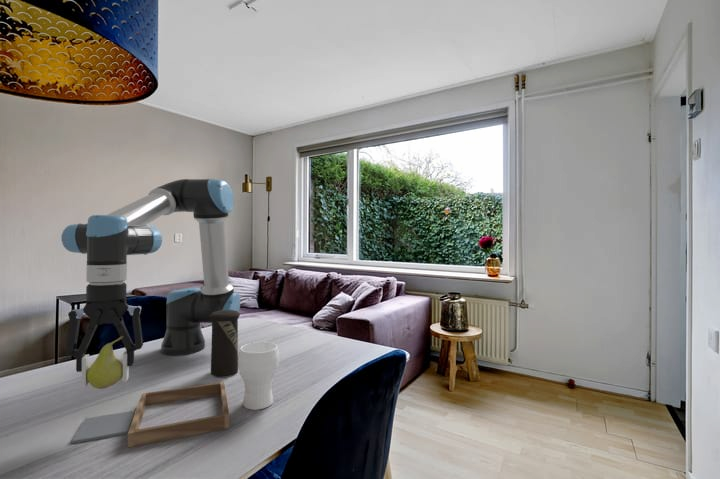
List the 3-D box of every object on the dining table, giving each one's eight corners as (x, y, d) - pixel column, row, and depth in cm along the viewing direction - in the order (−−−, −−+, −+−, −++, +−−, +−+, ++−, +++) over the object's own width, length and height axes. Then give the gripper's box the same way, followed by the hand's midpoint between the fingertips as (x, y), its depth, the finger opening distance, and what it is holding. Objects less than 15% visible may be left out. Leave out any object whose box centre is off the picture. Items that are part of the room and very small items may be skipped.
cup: (247, 417, 88) (248, 356, 88) (230, 401, 96) (231, 345, 96) (285, 404, 95) (286, 348, 95) (267, 390, 103) (268, 338, 103)
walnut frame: (141, 404, 93) (142, 393, 93) (223, 392, 101) (224, 381, 101) (127, 447, 75) (127, 433, 75) (229, 428, 83) (229, 415, 83)
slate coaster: (85, 420, 85) (85, 418, 85) (134, 412, 89) (134, 410, 89) (71, 443, 76) (71, 441, 76) (127, 433, 80) (127, 431, 80)
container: (229, 379, 110) (230, 314, 110) (203, 376, 112) (204, 312, 112) (244, 368, 119) (244, 309, 118) (219, 366, 120) (220, 307, 120)
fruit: (102, 380, 86) (102, 330, 85) (132, 381, 85) (133, 331, 85) (79, 392, 79) (79, 338, 79) (112, 393, 79) (113, 339, 78)
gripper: (45, 286, 74) (44, 396, 74) (154, 283, 82) (153, 382, 83) (58, 282, 81) (57, 382, 81) (158, 279, 89) (157, 370, 89)
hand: (105, 382), depth 82 cm, fingers closed on fruit, 7 cm apart
